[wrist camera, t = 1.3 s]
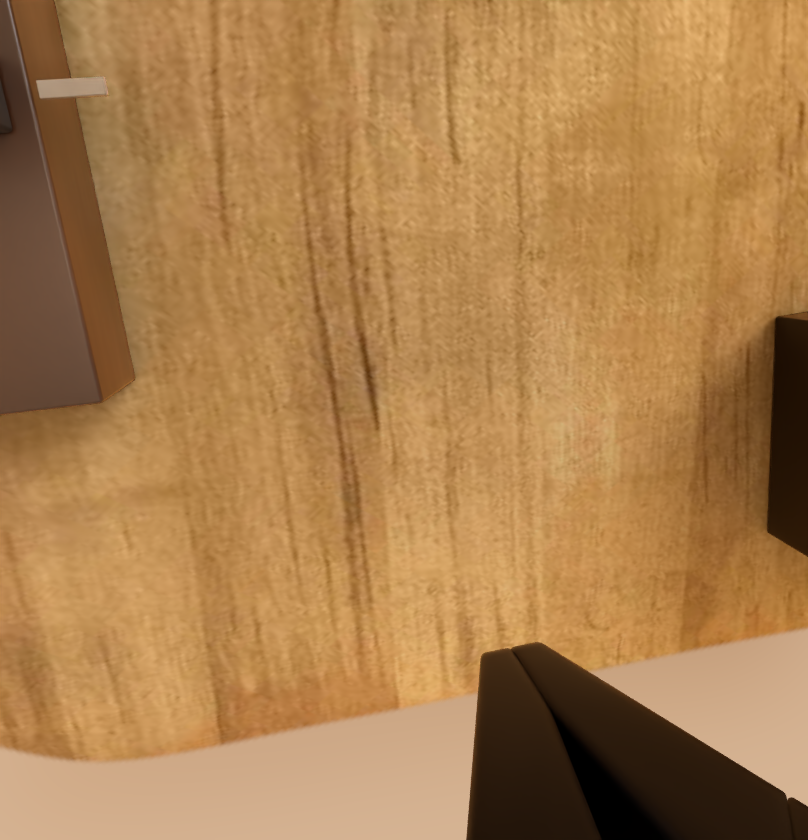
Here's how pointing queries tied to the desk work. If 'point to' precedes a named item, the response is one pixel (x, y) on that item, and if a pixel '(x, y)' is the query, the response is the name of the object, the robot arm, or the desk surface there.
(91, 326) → the dial panel
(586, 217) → the desk surface
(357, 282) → the desk surface
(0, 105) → the dial pointer
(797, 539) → the button box
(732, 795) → the robot arm
